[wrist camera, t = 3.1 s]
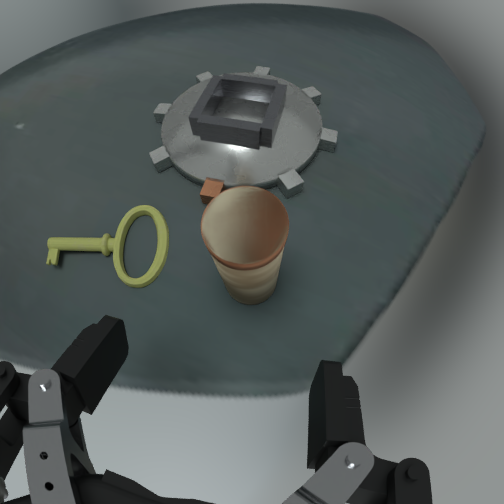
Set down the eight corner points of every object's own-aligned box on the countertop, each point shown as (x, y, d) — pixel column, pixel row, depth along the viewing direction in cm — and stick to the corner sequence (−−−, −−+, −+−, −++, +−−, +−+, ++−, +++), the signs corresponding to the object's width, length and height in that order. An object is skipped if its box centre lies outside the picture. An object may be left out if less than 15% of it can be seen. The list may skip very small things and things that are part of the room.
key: (54, 245, 25) (43, 237, 23) (163, 204, 26) (157, 192, 24) (61, 315, 23) (48, 311, 21) (181, 277, 24) (174, 270, 22)
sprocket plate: (121, 186, 27) (104, 163, 23) (191, 69, 33) (186, 45, 29) (320, 230, 25) (330, 207, 21) (340, 91, 31) (347, 66, 27)
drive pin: (218, 297, 23) (188, 252, 13) (232, 249, 24) (216, 178, 15) (270, 311, 22) (277, 275, 13) (282, 261, 24) (296, 195, 14)
